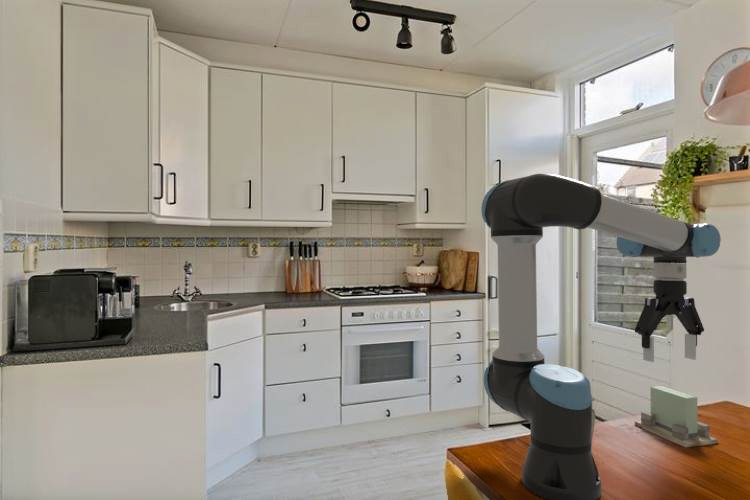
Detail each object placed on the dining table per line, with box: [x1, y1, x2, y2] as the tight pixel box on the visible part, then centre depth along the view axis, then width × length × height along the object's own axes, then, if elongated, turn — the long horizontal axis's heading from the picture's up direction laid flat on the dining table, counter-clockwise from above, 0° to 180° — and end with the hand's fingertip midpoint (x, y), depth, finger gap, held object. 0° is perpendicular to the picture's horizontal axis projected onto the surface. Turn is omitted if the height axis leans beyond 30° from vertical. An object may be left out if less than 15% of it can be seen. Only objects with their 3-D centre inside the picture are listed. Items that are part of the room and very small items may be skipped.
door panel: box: [650, 385, 699, 438], centre depth 126 cm, size 4×11×10 cm, turn 15°
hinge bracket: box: [634, 411, 719, 448], centre depth 126 cm, size 10×16×4 cm, turn 15°
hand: (669, 359), depth 126 cm, fingers open, 13 cm apart
